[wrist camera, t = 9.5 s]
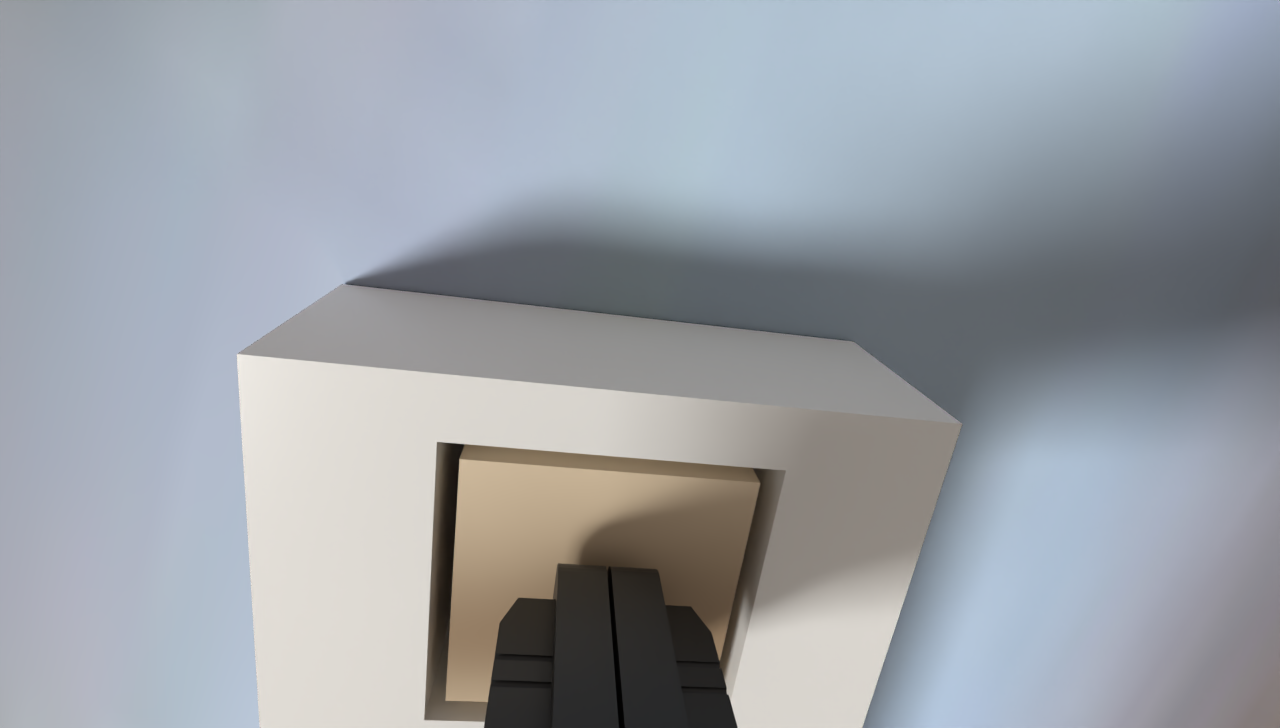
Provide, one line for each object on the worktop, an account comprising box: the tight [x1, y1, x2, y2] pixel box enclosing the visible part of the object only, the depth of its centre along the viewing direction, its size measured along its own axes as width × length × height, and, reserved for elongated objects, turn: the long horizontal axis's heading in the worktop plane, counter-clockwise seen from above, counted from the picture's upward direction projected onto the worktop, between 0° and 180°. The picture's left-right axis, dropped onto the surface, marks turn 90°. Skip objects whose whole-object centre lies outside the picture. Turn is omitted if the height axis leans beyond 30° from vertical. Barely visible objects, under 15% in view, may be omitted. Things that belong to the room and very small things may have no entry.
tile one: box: [445, 444, 760, 702], centre depth 11 cm, size 4×4×3 cm
